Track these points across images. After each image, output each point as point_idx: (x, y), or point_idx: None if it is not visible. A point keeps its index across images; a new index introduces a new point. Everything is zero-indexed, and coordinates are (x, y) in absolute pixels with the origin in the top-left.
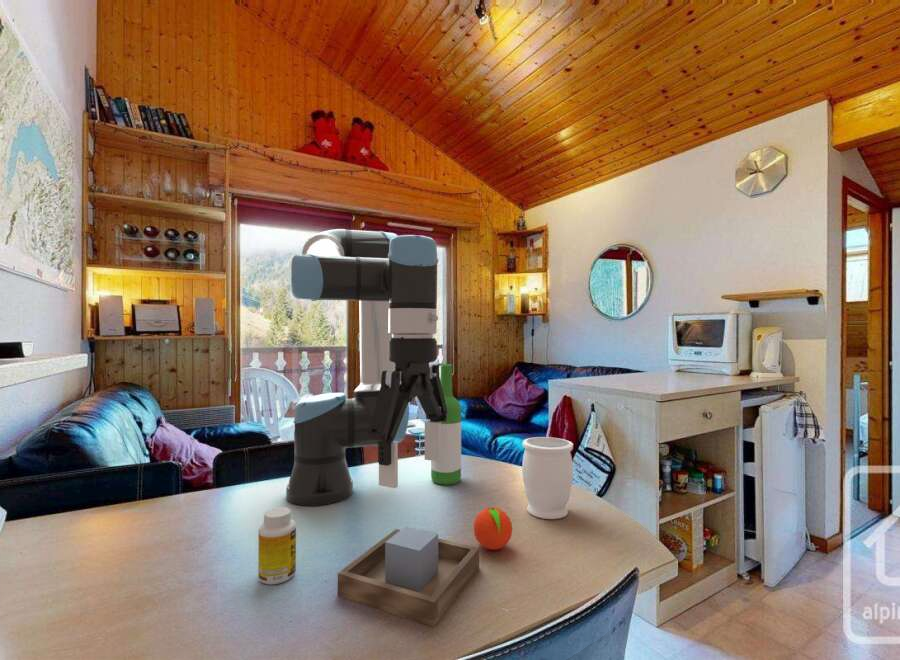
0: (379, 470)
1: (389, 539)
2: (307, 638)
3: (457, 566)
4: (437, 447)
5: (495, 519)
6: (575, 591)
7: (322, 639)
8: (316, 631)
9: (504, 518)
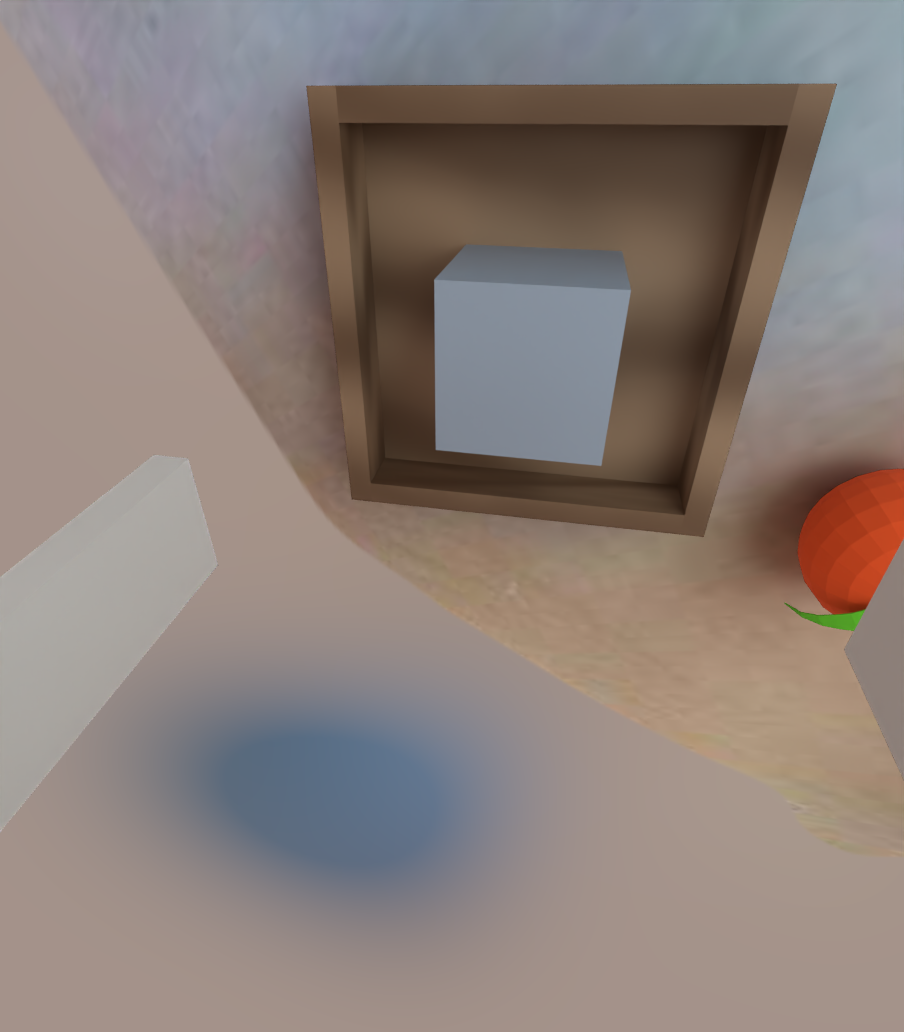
0: (82, 518)
1: (466, 284)
2: (147, 160)
3: (550, 503)
4: (900, 752)
5: (839, 616)
6: (641, 705)
7: (174, 209)
8: (181, 164)
9: None
